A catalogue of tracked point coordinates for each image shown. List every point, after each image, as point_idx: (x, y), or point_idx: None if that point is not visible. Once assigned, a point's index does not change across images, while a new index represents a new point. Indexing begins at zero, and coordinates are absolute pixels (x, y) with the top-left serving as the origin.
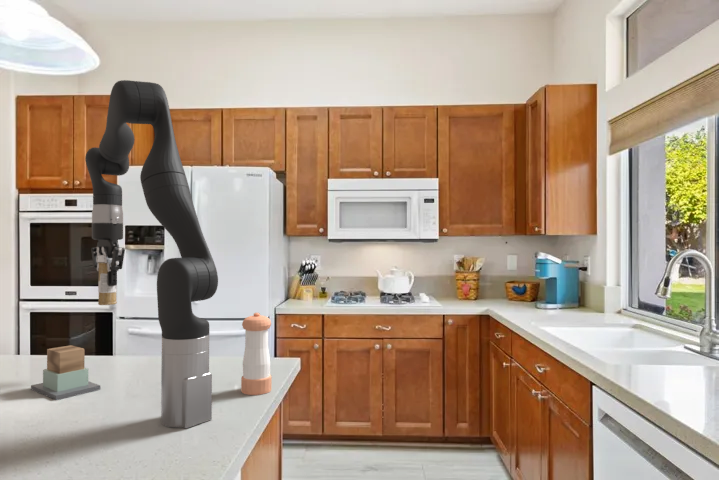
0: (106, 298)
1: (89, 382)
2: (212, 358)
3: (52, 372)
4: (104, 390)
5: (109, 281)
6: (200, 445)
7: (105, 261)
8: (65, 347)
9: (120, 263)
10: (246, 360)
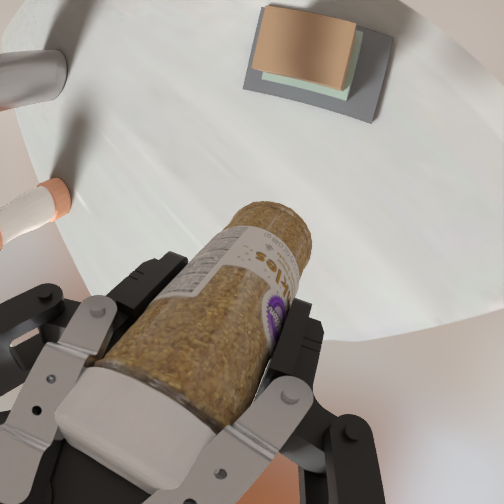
0: (230, 222)
1: (285, 94)
2: None
3: None
4: (233, 89)
5: (156, 266)
6: (20, 49)
7: (63, 353)
8: (325, 57)
9: (29, 344)
10: (24, 195)
